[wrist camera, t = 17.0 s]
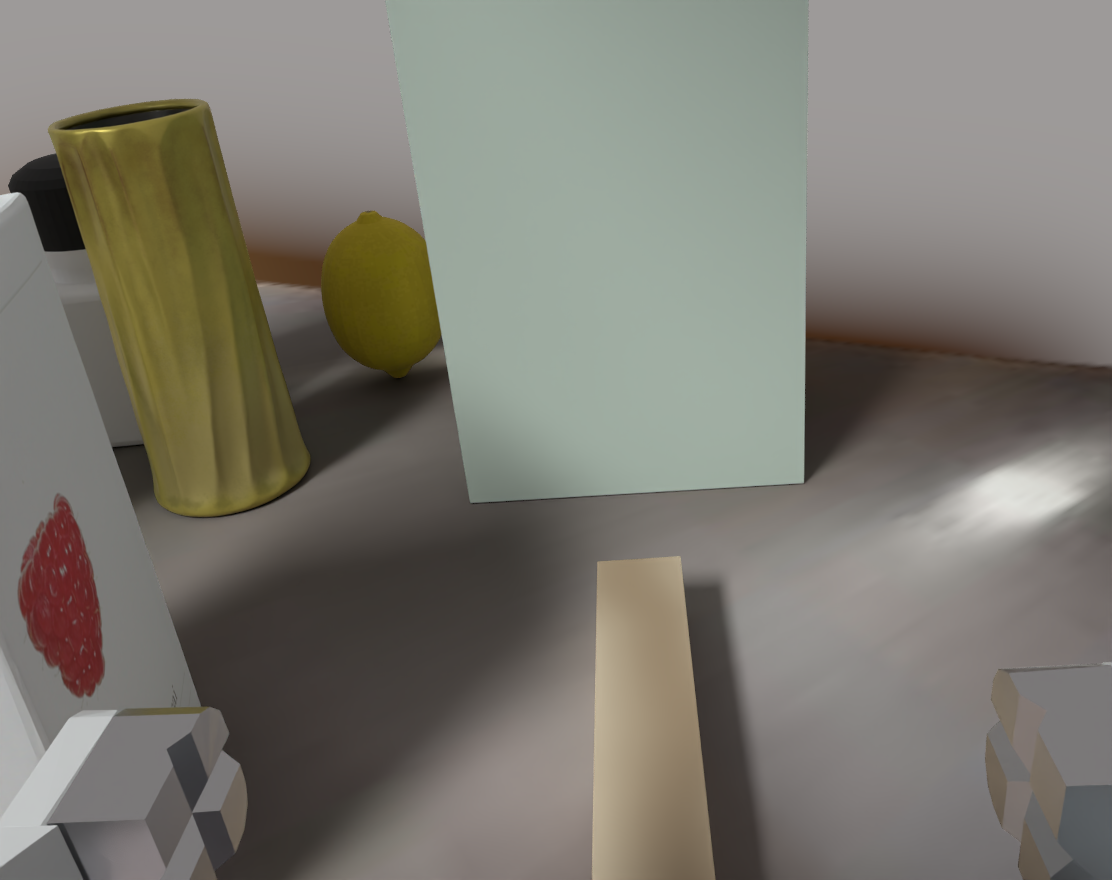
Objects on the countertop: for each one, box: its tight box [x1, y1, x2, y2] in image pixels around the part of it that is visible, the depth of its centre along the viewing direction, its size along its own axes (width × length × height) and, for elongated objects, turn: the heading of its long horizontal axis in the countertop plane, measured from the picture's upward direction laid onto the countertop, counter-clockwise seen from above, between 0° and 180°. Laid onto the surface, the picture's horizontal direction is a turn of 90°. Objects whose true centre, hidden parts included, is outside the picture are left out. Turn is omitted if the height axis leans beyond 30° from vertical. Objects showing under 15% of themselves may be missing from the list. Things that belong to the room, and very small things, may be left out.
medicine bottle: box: [8, 153, 144, 447], centre depth 45 cm, size 7×7×12 cm
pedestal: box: [385, 0, 809, 503], centre depth 35 cm, size 12×10×26 cm
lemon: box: [321, 211, 441, 378], centre depth 46 cm, size 6×6×8 cm
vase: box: [48, 99, 311, 517], centre depth 38 cm, size 6×6×14 cm
